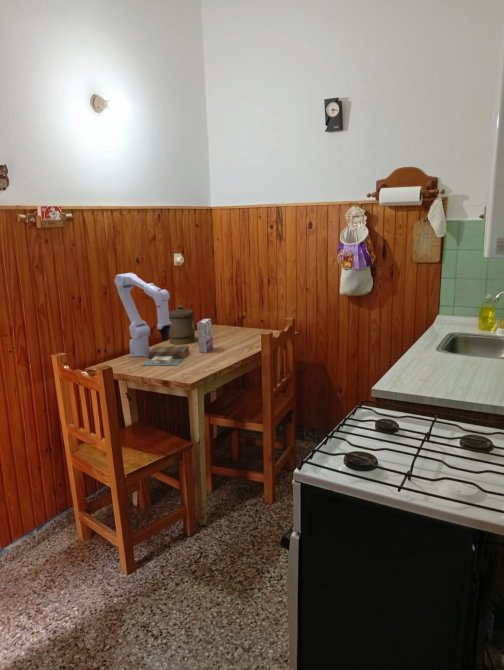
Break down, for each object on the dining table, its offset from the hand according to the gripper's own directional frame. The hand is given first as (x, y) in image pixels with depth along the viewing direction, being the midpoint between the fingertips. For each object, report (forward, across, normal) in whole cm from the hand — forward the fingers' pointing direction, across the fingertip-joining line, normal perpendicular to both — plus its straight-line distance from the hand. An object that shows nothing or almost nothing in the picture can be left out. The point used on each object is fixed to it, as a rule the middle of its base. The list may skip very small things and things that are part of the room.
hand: (165, 340), depth 246 cm
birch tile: (+7, -9, -1) cm, 12 cm away
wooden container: (+10, +37, +2) cm, 38 cm away
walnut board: (+9, +3, -1) cm, 10 cm away
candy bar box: (+10, +15, -18) cm, 25 cm away
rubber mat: (+9, -9, -1) cm, 13 cm away
